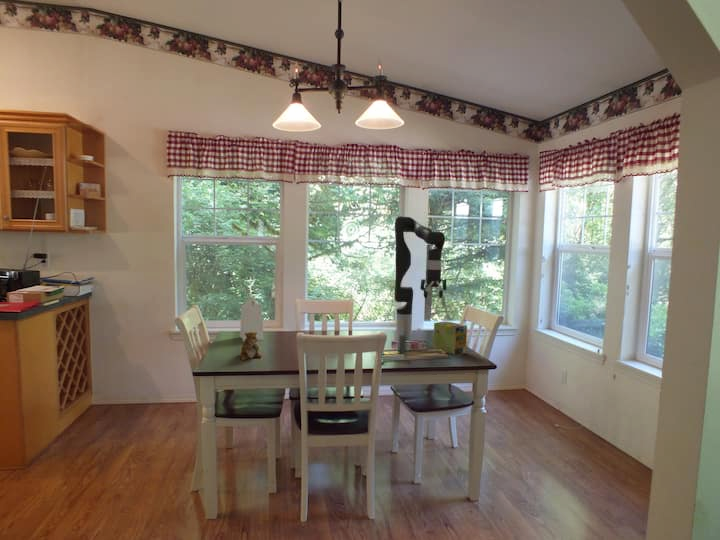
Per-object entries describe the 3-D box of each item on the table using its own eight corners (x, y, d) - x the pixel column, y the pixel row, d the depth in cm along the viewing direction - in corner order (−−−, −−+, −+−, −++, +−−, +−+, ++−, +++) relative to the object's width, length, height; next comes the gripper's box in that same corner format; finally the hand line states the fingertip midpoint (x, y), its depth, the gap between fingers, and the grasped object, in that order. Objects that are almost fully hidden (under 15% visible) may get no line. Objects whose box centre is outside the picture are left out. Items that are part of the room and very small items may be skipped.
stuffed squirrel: (242, 361, 222) (242, 335, 220) (236, 354, 234) (236, 329, 233) (262, 359, 226) (262, 333, 225) (255, 352, 239) (255, 327, 237)
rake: (396, 354, 235) (397, 334, 234) (402, 354, 235) (402, 333, 234) (400, 357, 229) (401, 336, 228) (405, 357, 230) (406, 336, 229)
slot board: (396, 354, 238) (396, 349, 238) (438, 352, 244) (438, 347, 244) (404, 361, 226) (404, 356, 226) (448, 359, 231) (448, 354, 231)
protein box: (454, 356, 238) (455, 327, 237) (432, 350, 250) (433, 322, 249) (466, 353, 245) (467, 325, 244) (444, 347, 257) (445, 320, 256)
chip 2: (390, 357, 233) (390, 351, 233) (397, 356, 234) (397, 351, 234) (392, 359, 229) (392, 353, 229) (399, 358, 230) (399, 353, 230)
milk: (240, 337, 270) (239, 294, 268) (259, 335, 275) (259, 294, 273) (243, 341, 260) (243, 297, 257) (263, 340, 264) (263, 296, 262)
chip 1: (382, 357, 232) (382, 351, 232) (390, 357, 233) (390, 351, 232) (384, 359, 228) (385, 354, 228) (392, 359, 229) (392, 353, 229)
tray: (374, 356, 235) (374, 349, 235) (397, 355, 238) (397, 348, 238) (380, 362, 223) (380, 356, 223) (404, 361, 226) (404, 354, 226)
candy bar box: (427, 340, 244) (403, 342, 235) (427, 349, 243) (403, 351, 235) (414, 339, 253) (390, 341, 245) (414, 348, 253) (391, 350, 244)
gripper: (443, 267, 247) (442, 296, 249) (419, 267, 244) (418, 297, 246) (449, 269, 240) (448, 298, 242) (424, 269, 237) (423, 299, 238)
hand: (433, 297), depth 244 cm, fingers open, 8 cm apart
